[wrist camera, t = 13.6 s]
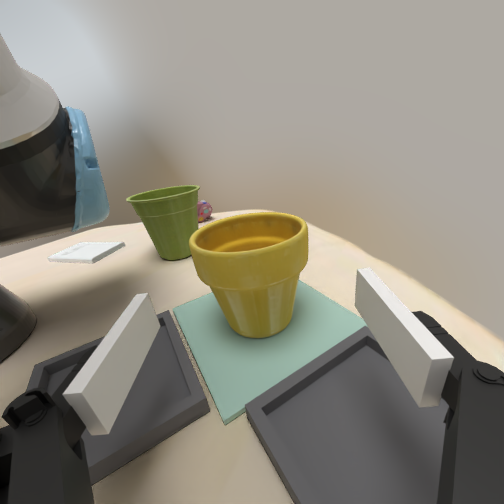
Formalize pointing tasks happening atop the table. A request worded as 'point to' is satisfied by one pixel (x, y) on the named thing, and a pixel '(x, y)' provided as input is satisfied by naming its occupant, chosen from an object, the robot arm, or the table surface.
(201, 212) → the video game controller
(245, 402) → the pad
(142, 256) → the table surface
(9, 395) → the table surface
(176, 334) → the tray
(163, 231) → the plant pot
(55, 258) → the white flat block
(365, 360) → the tray
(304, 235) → the plant pot
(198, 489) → the table surface
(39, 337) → the table surface
